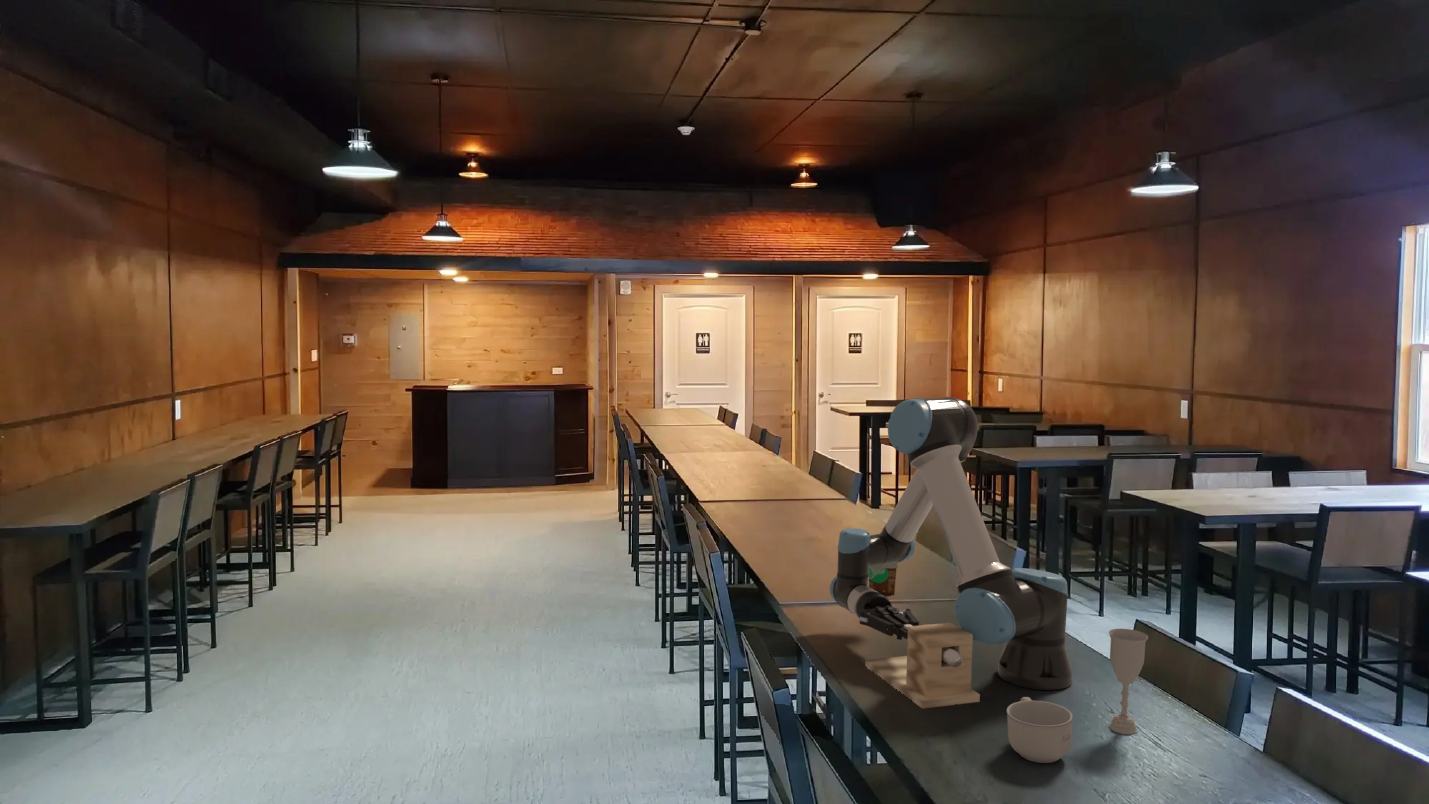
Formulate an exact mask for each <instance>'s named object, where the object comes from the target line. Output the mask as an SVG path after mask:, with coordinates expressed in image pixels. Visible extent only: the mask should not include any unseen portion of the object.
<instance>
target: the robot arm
mask: <svg viewBox="0 0 1429 804" xmlns="http://www.w3.org/2000/svg"><path fill="white" fill-rule="evenodd" d="M978 425H979V424H978V418H977V415H976V413H975V411H974V410H973V408H972V407H971V406H970V405H969V404H968V403H967V402H966V401H964V400H961V399H959V398H957V397H951V396H950V397H948V396H947V397H936V398H935V397H933V398H922V397H916V398H913V399H906V400H903V401H901V402H899V403H898V404H897V405H896V406H895V407H894V408H893V410H892V412H891V413H890V418H889V419H888V423H887V434H888V435H887V436H888V440H889V443H890V445H892V447H893V448H894V450H897V451H898V452H899V453H901V454H904V455H906V457H907V459H908V463H909V465H910V467H911V468H914V469H916V470H915V472H914V473H913V476H912V477H911V479H910V481H909V482H908V484H907V486H906V488H905V490H904V491H903V493H902V495H901V497H900V498H899V500H898V501H897V504H896V506H895V507H894V509H893V511H892V512H891V514H890V516H889V518H888V520H887V521H886V524H885V525H884V527H883V528H882V530H881V532H880V533H878V534H877V533H876V534H871V533H870V532H869V531H868V530H866V529H862V528H855V527H854V528H851V527H850V528H844V529H842V530H841V531H840V532H839V537H838V545H837V571H836V572H837V573H836V576H835V577H833V579H832V580H831V583H830V584H829V594H830V596H831V598H832V599H833V600H834V601H835V602H836V603H837V605H838V606H839V607H841V608H844V609H845V610H847V611H849V612H850V613H851V614H852V615H854V616H855V617H856V618H858V619H859V625H862V626H867V627H868V628H871V629H874V630H876V631H878V632H880V633H882V634H885V635H887V636H889V637H893V636H894V635H896V640H898V641H899V640H900V641H901V640H903V638H904V639H905V640H907V641H908V627H909V626H919V625H920V621H918V619H917V618H916V616H915V615H914V614H913V613H912V609H910V608H906V609H903V610H902V611H900V609H899V608H897V607H894V606H893V605H892V603H891V601H890V599H888V598H887V597H886V595H883V594H880V593H878V592H877V591H875V590H874V589H872V588H870V587H869V567H872V566H878V565H883V564H889V563H897V564H898V563H901V562H903V561H906V560H909V559H911V558H912V557H913V555H914V553H915V547H916V542H915V539H914V538H915V537H916V535H917V533H918V531H919V530H920V528H921V526H922V525H923V523H924V521H925V520H926V518H927V516H928V515H929V513H930V512H931V510H932V507H933V508H934V510H935V514H936V515H937V518H938V521H939V524H940V526H941V528H942V531H943V534H944V536H945V539H946V541H947V544H948V547H949V550H950V553H951V556H952V557H953V560H954V563H955V564H956V567H957V568H956V569H957V571H958V573H959V579H958V581H957V583H956V585H955V586H956V588H957V591H958V594H959V595H958V596H957V598H956V600H955V604H956V605H955V606H954V615H955V619H956V622H957V624H958V627H960V628H961V629H963V630H965V631H967V632H969V633H971V634H973V641H975V642H976V643H978V644H981V645H985V646H991V645H1003V644H1004V647H1003V649H1002V652H1001V654H1000V657H999V660H998V663H997V675H998V677H1000V678H1001V679H1002V680H1003V681H1005V682H1007V683H1009V684H1013V685H1015V686H1019V687H1022V688H1026V689H1033V690H1043V691H1055V690H1063V689H1067V688H1068V687H1070V686H1071V685H1072V684H1073V670H1072V667H1071V663H1070V660H1069V659H1070V658H1069V655H1068V653H1067V648H1066V630H1067V629H1066V626H1067V612H1068V611H1067V609H1068V608H1067V607H1068V597H1069V593H1068V582H1067V580H1066V578H1065V577H1063V576H1062V575H1060V574H1056V573H1053V572H1049V571H1045V570H1039V569H1034V568H1033V569H1032V568H1026V567H1025V568H1023V567H1015V568H1012V569H1011V567H1009V566H1008V565H1004V564H1003V563H1002V562H1001V561H1000V559H999V555H998V553H997V552H996V549H995V546H994V544H993V541H992V539H991V536H990V534H989V531H988V529H987V526H986V524H985V522H984V519H983V516H982V513H981V511H980V509H979V507H978V504H977V502H976V498H975V496H974V494H973V491H972V489H971V486H970V483H969V482H968V479H967V476H966V474H965V472H964V471H965V470H964V468H963V466H962V463H963V462H965V461H966V460H967V458H968V456H969V454H970V453H971V451H972V449H973V447H974V445H975V444H976V443H975V442H976V439H977V436H978V432H979V431H978V430H979V426H978Z"/></svg>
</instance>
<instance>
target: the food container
mask: <svg viewBox="0 0 1429 804" xmlns="http://www.w3.org/2000/svg"><path fill="white" fill-rule="evenodd" d="M898 568H899V566H898V562H897V563H889V564H883V565H878V566H872V567H869V576H868V586H869V587H870V588H872V589H874V590H875V591H877V592H878V593H880V594H882V595H883V594H884V595H883V596H894V595H895V591H896V579H897V578H896V577H897V569H898Z"/></svg>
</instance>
